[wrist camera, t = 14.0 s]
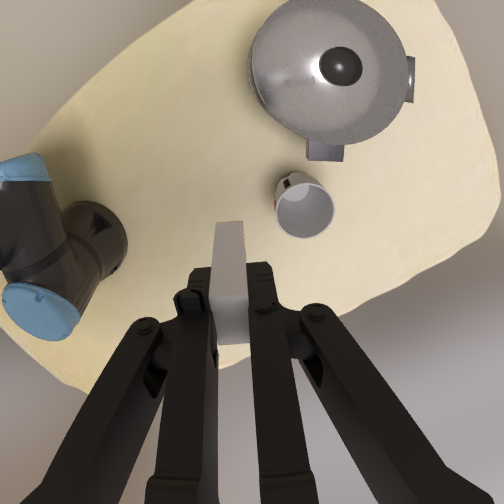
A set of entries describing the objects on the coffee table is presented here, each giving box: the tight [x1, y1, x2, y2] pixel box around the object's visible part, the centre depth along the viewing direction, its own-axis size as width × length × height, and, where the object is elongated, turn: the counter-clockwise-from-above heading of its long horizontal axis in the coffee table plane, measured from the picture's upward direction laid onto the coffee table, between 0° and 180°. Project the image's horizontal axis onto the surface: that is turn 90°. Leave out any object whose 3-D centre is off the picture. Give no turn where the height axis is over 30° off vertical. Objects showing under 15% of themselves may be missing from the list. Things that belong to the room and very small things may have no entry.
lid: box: [252, 0, 415, 145], centre depth 28 cm, size 20×18×4 cm
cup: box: [274, 172, 335, 239], centre depth 45 cm, size 8×8×10 cm
